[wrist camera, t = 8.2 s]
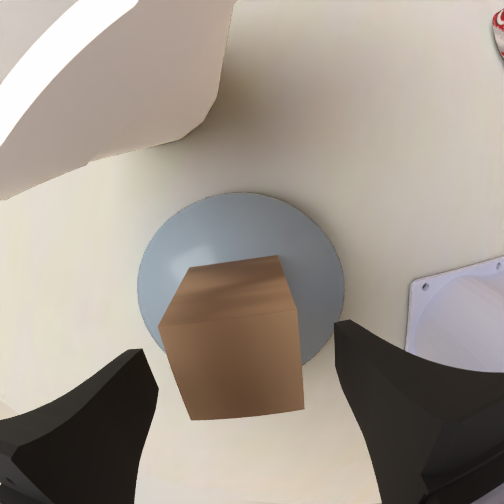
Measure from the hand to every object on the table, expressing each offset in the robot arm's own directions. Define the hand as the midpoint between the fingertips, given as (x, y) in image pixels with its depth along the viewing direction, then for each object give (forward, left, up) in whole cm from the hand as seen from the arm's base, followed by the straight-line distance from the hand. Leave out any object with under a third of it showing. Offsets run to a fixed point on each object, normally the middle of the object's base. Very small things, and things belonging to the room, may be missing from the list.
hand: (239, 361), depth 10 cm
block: (0, 0, -5) cm, 5 cm away
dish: (0, 0, -6) cm, 6 cm away
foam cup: (+2, -12, -6) cm, 14 cm away
